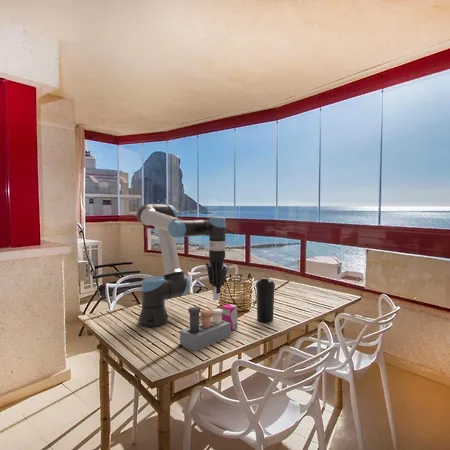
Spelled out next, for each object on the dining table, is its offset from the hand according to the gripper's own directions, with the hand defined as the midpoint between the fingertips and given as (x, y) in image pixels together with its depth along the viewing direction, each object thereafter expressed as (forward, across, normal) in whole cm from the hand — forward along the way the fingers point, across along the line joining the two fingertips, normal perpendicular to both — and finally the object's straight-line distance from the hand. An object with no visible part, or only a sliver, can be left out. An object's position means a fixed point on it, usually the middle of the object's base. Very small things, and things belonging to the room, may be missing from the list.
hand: (216, 299), depth 138 cm
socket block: (+17, +1, -7) cm, 18 cm away
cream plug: (+14, +1, 0) cm, 14 cm away
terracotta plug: (+13, +1, -7) cm, 15 cm away
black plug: (+10, +1, -14) cm, 17 cm away
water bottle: (+17, +6, +32) cm, 37 cm away
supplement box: (+17, 0, +10) cm, 20 cm away
